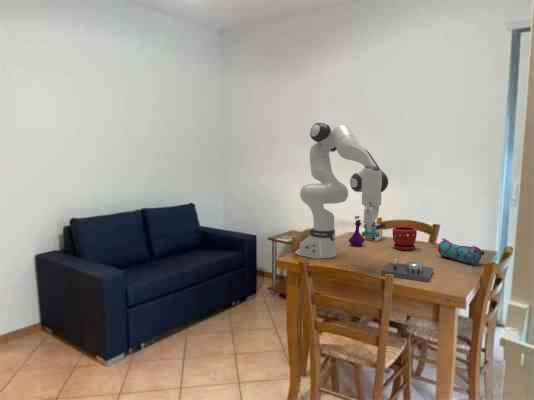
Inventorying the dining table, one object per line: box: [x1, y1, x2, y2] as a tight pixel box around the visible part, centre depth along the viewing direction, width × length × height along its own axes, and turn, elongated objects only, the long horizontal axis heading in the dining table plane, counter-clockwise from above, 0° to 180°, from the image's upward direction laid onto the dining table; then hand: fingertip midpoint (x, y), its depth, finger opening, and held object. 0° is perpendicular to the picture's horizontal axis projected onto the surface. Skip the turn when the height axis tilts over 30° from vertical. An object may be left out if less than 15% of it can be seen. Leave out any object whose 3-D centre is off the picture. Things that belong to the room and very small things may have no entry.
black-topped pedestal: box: [363, 220, 386, 242], centre depth 251 cm, size 28×26×13 cm
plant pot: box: [392, 226, 418, 251], centre depth 227 cm, size 13×13×12 cm
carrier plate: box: [380, 258, 434, 283], centre depth 181 cm, size 20×16×6 cm
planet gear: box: [361, 224, 379, 239], centre depth 185 cm, size 8×8×5 cm
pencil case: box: [437, 237, 485, 266], centre depth 201 cm, size 21×9×10 cm, turn 29°
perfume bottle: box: [348, 215, 365, 247], centre depth 234 cm, size 8×8×18 cm
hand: (370, 230), depth 185 cm, fingers closed on planet gear, 5 cm apart
